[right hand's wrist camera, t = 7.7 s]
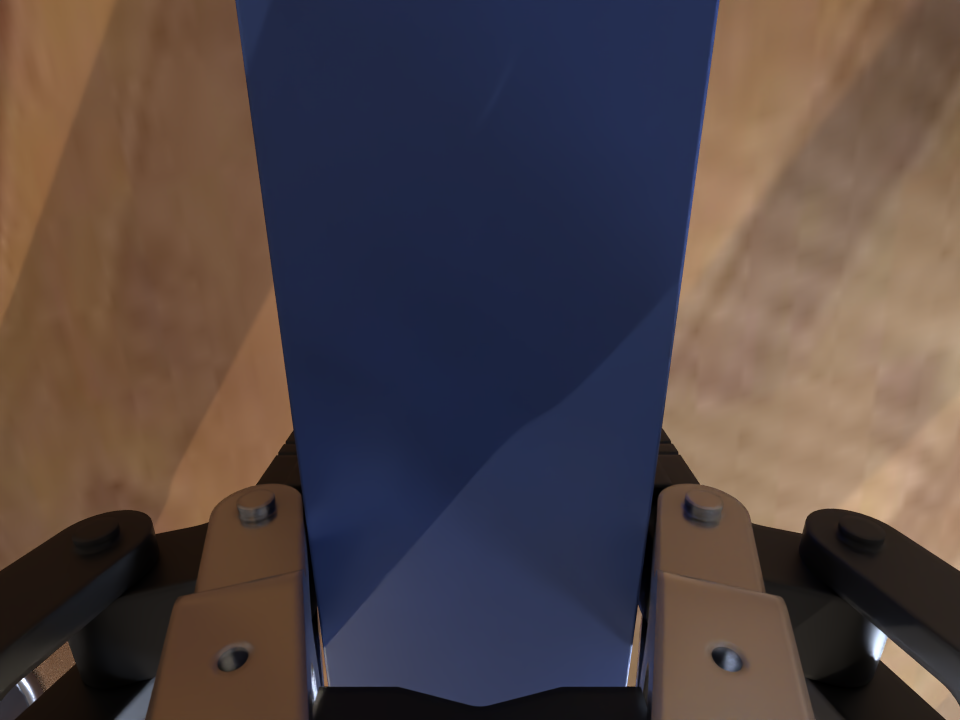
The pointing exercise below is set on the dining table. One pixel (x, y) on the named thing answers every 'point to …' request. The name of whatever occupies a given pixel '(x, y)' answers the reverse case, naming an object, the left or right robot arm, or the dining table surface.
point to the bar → (477, 318)
